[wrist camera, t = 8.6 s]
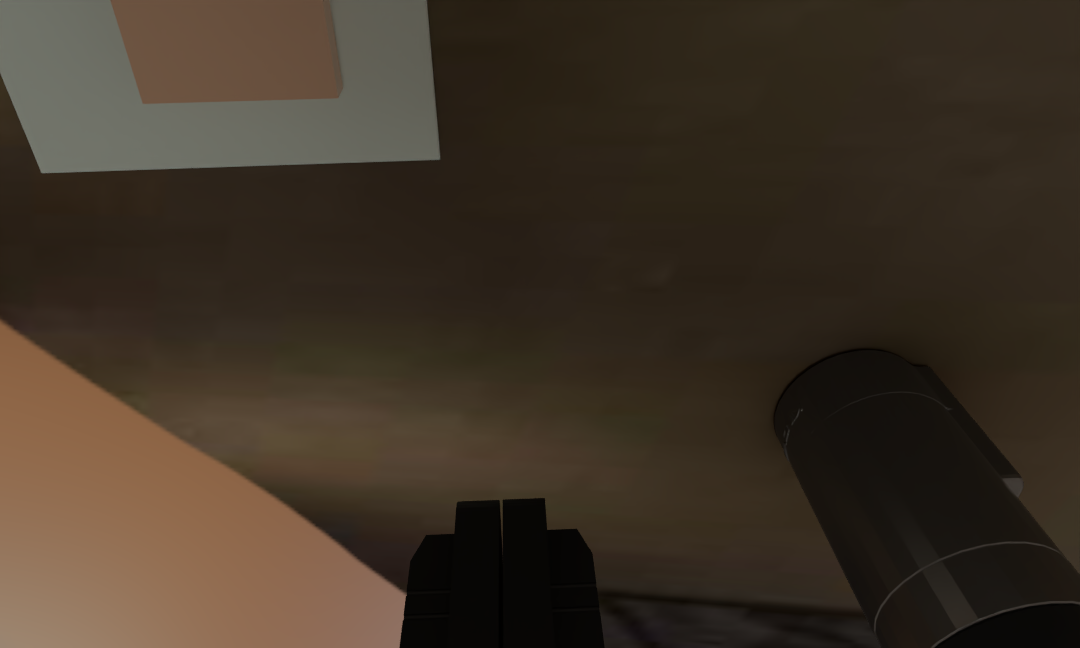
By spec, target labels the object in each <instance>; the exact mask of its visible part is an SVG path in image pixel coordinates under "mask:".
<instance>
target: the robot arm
mask: <svg viewBox="0 0 1080 648" xmlns="http://www.w3.org/2000/svg"><path fill="white" fill-rule="evenodd" d="M774 426H775V431H776V435H777V437H778V439H779V441H780V443H781V446H782V448H783V450H784V453H785V456H786V458H787V460H788V461H789V462H790V464H791V466H792V468H793V470H794V472H795V474H796V476H797V478H798V480H799V483H800V485H801V487H802V489H803V491H804V493H805V495H806V497H807V499H808V501H809V503H810V505H811V507H812V509H813V511H814V513H815V515H816V517H817V519H818V521H819V523H820V525H821V527H822V529H823V531H824V533H825V535H826V537H827V539H828V542H829V544H830V546H831V548H832V550H833V552H834V554H835V556H836V558H837V560H838V562H839V564H840V566H841V568H842V570H843V572H844V574H845V576H846V578H847V580H848V582H849V584H850V586H851V588H852V590H853V592H854V594H855V596H856V598H857V600H858V602H859V604H860V606H861V608H862V610H863V612H864V614H865V616H866V618H867V620H868V622H869V625H870V627H871V629H872V631H873V633H874V635H875V637H876V639H877V640H878V642H879V644H880V646H881V648H1080V574H1079V573H1078V572H1077V570H1076V569H1075V568H1074V567H1073V566H1072V564H1071V563H1070V562H1069V561H1068V560H1067V558H1066V557H1065V556H1064V555H1063V553H1062V552H1061V551H1060V550H1059V548H1058V547H1057V546H1056V545H1055V544H1054V542H1053V541H1052V540H1051V539H1050V537H1049V536H1048V535H1047V534H1046V532H1045V531H1044V530H1043V529H1042V527H1041V526H1040V525H1039V524H1038V522H1037V521H1036V520H1035V519H1034V517H1033V516H1032V515H1031V514H1030V512H1029V511H1028V510H1027V509H1026V507H1025V506H1024V505H1023V504H1022V502H1021V501H1020V500H1019V499H1018V497H1019V495H1020V493H1021V491H1022V489H1023V486H1024V482H1023V479H1022V477H1021V476H1020V474H1019V473H1018V472H1017V471H1016V470H1015V468H1014V467H1013V466H1012V465H1011V464H1010V462H1009V461H1008V460H1007V459H1006V458H1005V456H1004V455H1003V454H1002V453H1001V452H1000V450H999V449H998V448H997V447H996V446H995V444H994V443H993V442H992V441H991V440H990V438H989V437H988V436H987V435H986V434H985V432H984V431H983V430H982V429H981V428H980V426H979V425H978V424H977V423H976V422H975V421H974V419H973V418H972V417H971V416H970V415H969V413H968V412H967V411H966V410H965V409H964V407H963V406H962V405H961V404H960V403H959V401H958V400H957V399H956V398H955V397H954V395H953V394H952V393H951V392H950V391H949V389H948V388H947V387H946V386H945V385H944V383H943V382H942V381H941V380H940V379H939V377H938V376H937V375H936V374H935V373H934V371H933V370H932V369H931V368H930V367H928V366H925V367H917V366H913V365H911V364H910V363H908V362H907V361H905V360H904V359H903V358H901V357H899V356H897V355H894V354H891V353H889V352H883V351H877V350H862V351H854V352H849V353H844V354H840V355H838V356H835V357H832V358H829V359H827V360H824V361H823V362H821V363H819V364H817V365H815V366H814V367H812V368H810V369H809V370H807V371H806V372H805V373H804V374H802V375H801V376H800V377H798V378H797V379H796V380H795V381H794V382H793V384H792V385H791V386H790V387H789V388H788V389H787V390H786V392H785V393H784V395H783V396H782V398H781V400H780V401H779V404H778V407H777V409H776V412H775V420H774ZM400 648H604V640H603V632H602V624H601V617H600V612H599V601H598V593H597V588H596V578H595V570H594V562H593V555H592V552H591V550H590V549H589V547H588V546H587V544H586V543H585V541H584V539H583V538H582V536H581V535H580V533H579V532H578V530H577V529H561V530H547V523H546V508H545V498H534V499H508V500H503V555H502V536H501V517H500V501H499V500H488V501H462V502H457V507H456V520H455V534H441V535H426V536H425V538H424V540H423V541H422V543H421V545H420V546H419V548H418V549H417V551H416V553H415V554H414V556H413V558H412V559H411V561H410V569H409V577H408V585H407V596H406V601H405V609H404V620H403V625H402V633H401V641H400Z"/></svg>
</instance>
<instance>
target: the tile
mask: <svg viewBox="0 0 1080 648" xmlns="http://www.w3.org/2000/svg"><path fill="white" fill-rule="evenodd" d="M110 1H111V4H112V7H113V10H114V14H115V17H116V20H117V23H118V26H119V30H120V33H121V36H122V39H123V42H124V45H125V49H126V52H127V55H128V58H129V61H130V65H131V68H132V71H133V74H134V77H135V81H136V84H137V87H138V90H139V93H140V97H141V100H142V103H143V104H158V103H193V102H228V101H263V100H297V99H332V98H339V96H340V94H341V92H342V90H343V85H342V78H341V72H340V65H339V59H338V52H337V46H336V40H335V33H334V27H333V20H332V14H331V8H330V1H329V0H110Z"/></svg>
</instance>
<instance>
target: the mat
mask: <svg viewBox="0 0 1080 648" xmlns="http://www.w3.org/2000/svg"><path fill="white" fill-rule="evenodd" d="M329 1H330V8H331V14H332V20H333V27H334V33H335V40H336V46H337V52H338V59H339V65H340V72H341V78H342V85H343V90H342V92H341V94H340V96H339V98H332V99H297V100H263V101H228V102H193V103H158V104H143V103H142V100H141V97H140V93H139V90H138V87H137V84H136V81H135V77H134V74H133V71H132V68H131V65H130V61H129V58H128V55H127V52H126V49H125V45H124V42H123V39H122V36H121V33H120V30H119V26H118V23H117V20H116V17H115V14H114V10H113V7H112V4H111V1H110V0H0V74H1V76H2V78H3V81H4V83H5V86H6V88H7V90H8V93H9V95H10V98H11V100H12V103H13V105H14V107H15V110H16V112H17V115H18V117H19V119H20V122H21V124H22V127H23V129H24V132H25V134H26V136H27V139H28V141H29V144H30V146H31V148H32V151H33V153H34V156H35V158H36V161H37V163H38V165H39V168H40V170H41V173H60V172H90V171H119V170H149V169H179V168H208V167H238V166H267V165H297V164H326V163H356V162H385V161H415V160H440V146H439V135H438V123H437V111H436V100H435V88H434V76H433V65H432V53H431V41H430V30H429V18H428V6H427V0H329Z"/></svg>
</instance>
